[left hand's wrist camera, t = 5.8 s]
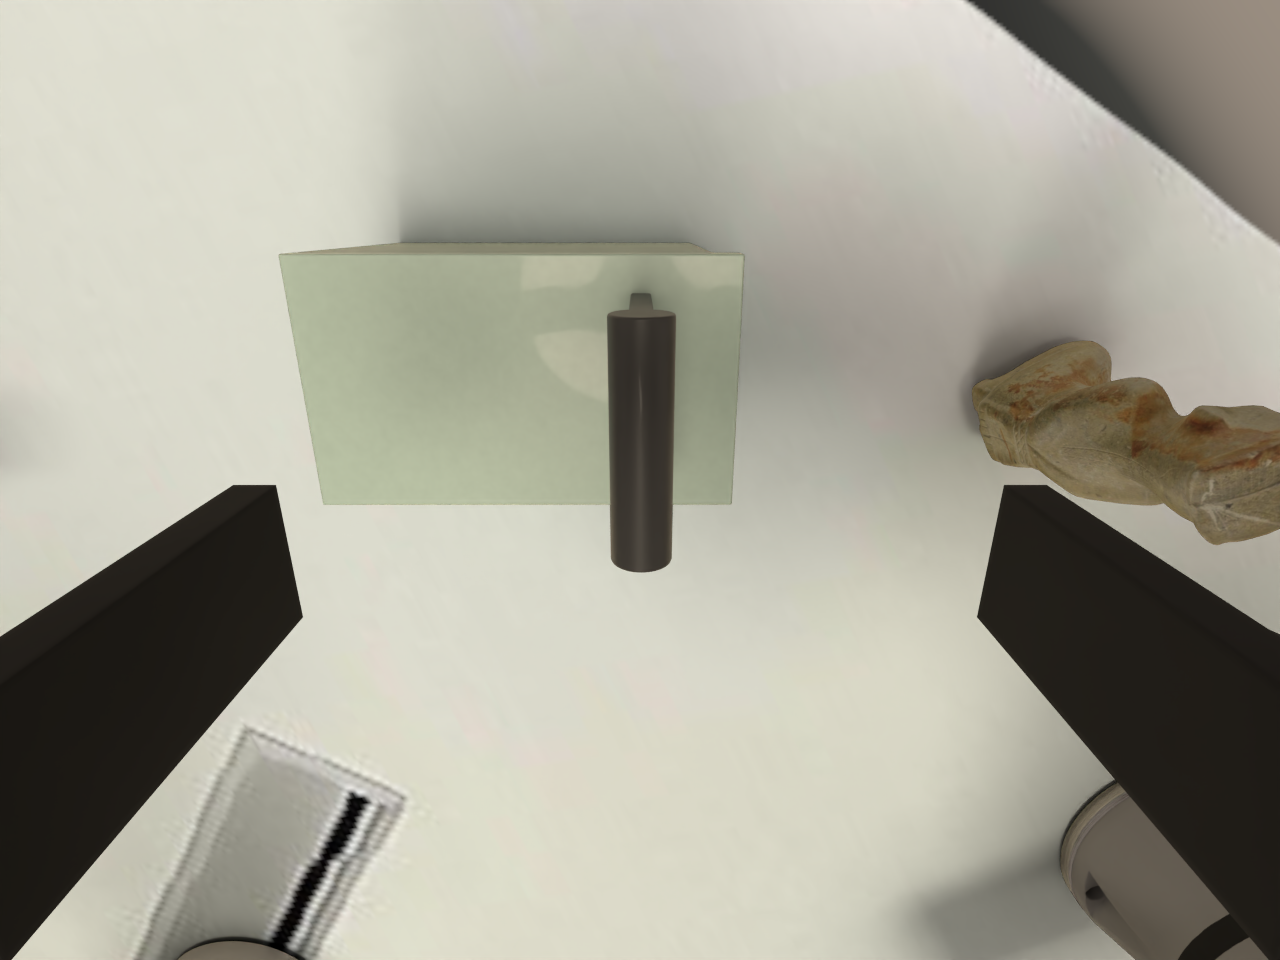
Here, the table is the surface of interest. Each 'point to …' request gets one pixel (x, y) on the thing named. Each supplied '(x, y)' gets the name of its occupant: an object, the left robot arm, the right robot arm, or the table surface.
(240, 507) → the left robot arm
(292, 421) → the table surface
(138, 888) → the table surface
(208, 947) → the bust sculpture
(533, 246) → the chest
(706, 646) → the table surface
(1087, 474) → the sculpture
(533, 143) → the table surface
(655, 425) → the lid
